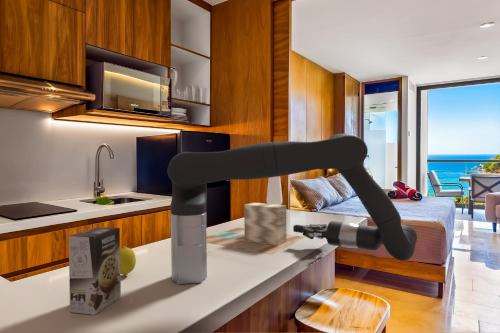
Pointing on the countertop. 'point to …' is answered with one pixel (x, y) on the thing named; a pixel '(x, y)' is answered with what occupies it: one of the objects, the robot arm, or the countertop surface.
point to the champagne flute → (274, 191)
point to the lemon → (127, 260)
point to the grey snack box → (94, 269)
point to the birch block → (265, 223)
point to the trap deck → (234, 239)
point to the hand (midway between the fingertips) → (294, 228)
